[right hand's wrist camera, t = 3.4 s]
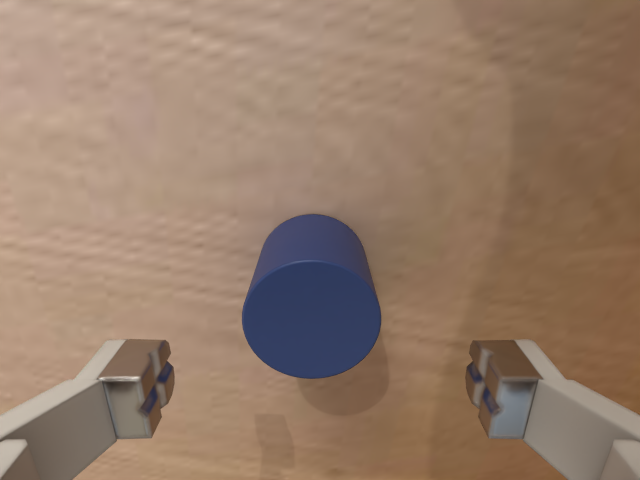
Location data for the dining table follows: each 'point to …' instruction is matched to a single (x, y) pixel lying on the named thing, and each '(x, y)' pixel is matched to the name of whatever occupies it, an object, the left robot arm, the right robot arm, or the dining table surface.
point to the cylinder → (312, 299)
